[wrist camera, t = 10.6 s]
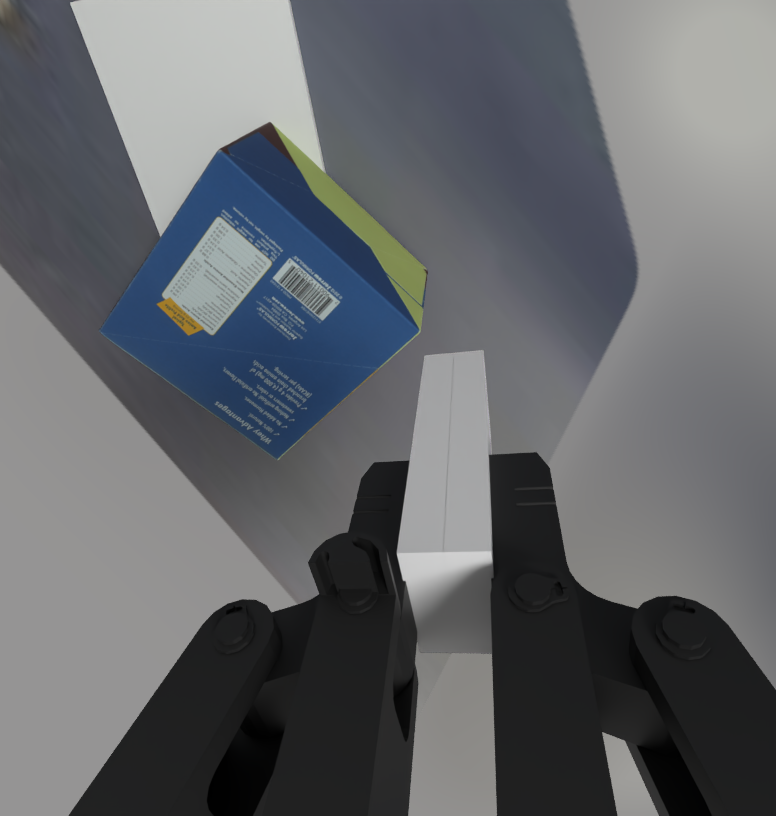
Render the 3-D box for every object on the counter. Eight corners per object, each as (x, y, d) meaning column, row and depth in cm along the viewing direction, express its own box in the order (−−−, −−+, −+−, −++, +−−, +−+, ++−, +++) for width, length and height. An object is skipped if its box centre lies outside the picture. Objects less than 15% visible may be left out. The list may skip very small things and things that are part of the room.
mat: (73, 2, 35) (69, 2, 35) (280, -45, 33) (278, -45, 32) (185, 294, 46) (183, 296, 46) (347, 276, 44) (346, 278, 43)
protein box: (431, 271, 42) (310, 389, 50) (270, 117, 37) (162, 273, 45) (423, 335, 34) (278, 465, 41) (213, 146, 29) (92, 332, 36)
